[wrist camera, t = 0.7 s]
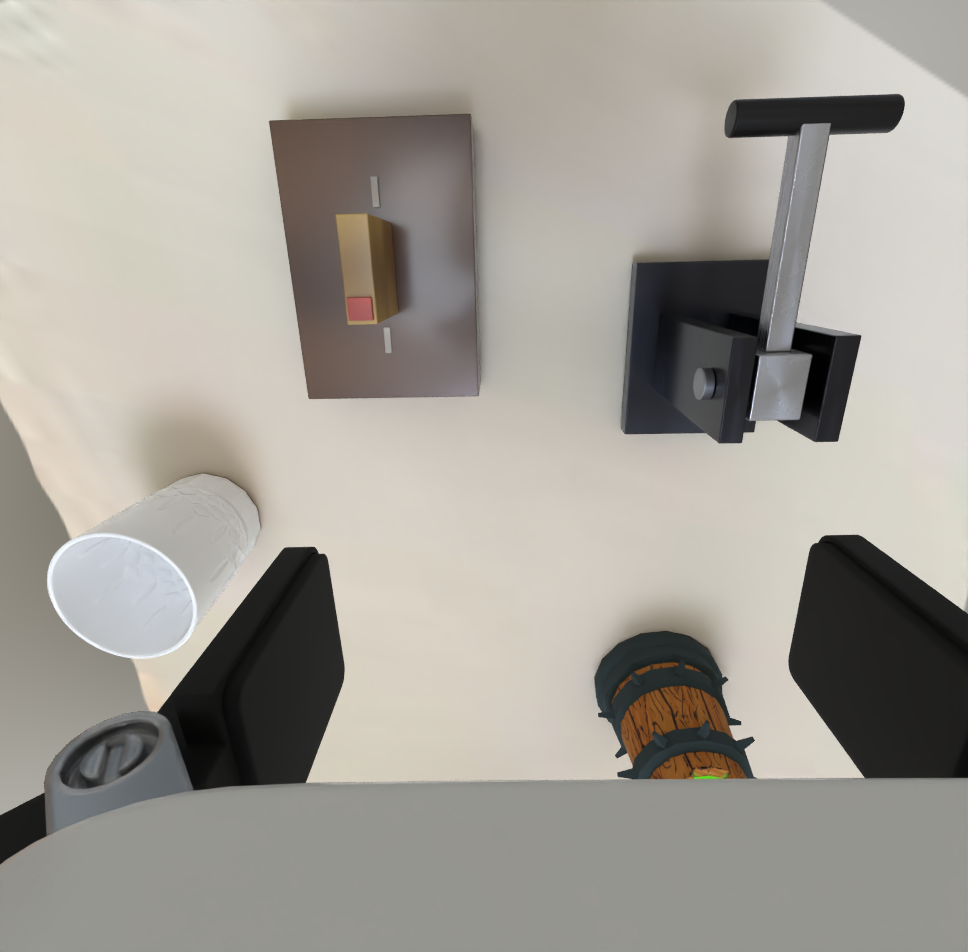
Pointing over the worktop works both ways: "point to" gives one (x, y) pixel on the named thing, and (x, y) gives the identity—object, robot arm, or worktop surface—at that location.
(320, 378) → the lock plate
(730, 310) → the handle bracket
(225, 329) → the worktop surface
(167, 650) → the white cup
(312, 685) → the robot arm
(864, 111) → the door lever
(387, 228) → the tall mustard panel
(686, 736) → the mug
